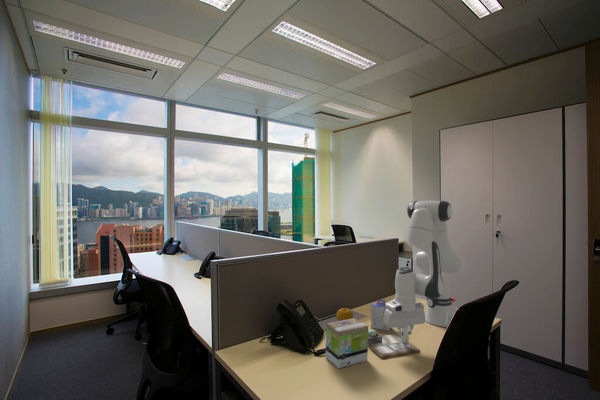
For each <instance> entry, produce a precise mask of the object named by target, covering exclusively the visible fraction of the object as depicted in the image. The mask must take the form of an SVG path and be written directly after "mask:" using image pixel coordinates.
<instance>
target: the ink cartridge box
mask: <svg viewBox="0 0 600 400" xmlns="http://www.w3.org/2000/svg"><path fill="white" fill-rule="evenodd" d="M385 304H386V300H385V299H381V298H380V299H379V298H378V299H377V302H372V303H371V305H370V318H371V319H370V329H374V330H381V331H386V332H387V331H388V332H390V331H391V330H392V328H389V327H387V326H386V325H385V324H384V312H385V310H386V309H387V308H386V307H385Z"/></svg>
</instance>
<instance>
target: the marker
mask: <svg viewBox="0 0 600 400" xmlns="http://www.w3.org/2000/svg"><path fill="white" fill-rule="evenodd" d="M408 328H409V326H402V328H401V331H403V336H401V342H402V344H403V345H408V342H409V335H408Z"/></svg>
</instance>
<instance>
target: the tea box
mask: <svg viewBox="0 0 600 400" xmlns="http://www.w3.org/2000/svg"><path fill="white" fill-rule="evenodd" d="M368 329H369V325H367V324H365V323H364V322H362V321H360V320H358V319H357V318H355V317H353V318H352V319H347V320H342V321H338V320H337V321H332V322H327V323H326V332H325V333H326V334H325V358H326V359H327V360H328V361H329V362H330V363H331V364H332V365H334V366H335V367H336V368H337V369H341V368H344V367H349V366H353V365H355V364H358V363H362V362H367V361H368V354H369V353H368V352H369V351H368V350H369V348H368Z"/></svg>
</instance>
